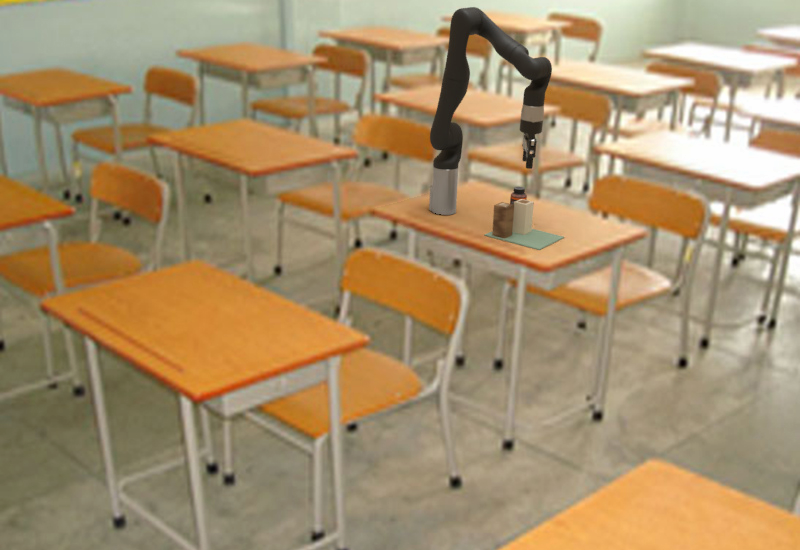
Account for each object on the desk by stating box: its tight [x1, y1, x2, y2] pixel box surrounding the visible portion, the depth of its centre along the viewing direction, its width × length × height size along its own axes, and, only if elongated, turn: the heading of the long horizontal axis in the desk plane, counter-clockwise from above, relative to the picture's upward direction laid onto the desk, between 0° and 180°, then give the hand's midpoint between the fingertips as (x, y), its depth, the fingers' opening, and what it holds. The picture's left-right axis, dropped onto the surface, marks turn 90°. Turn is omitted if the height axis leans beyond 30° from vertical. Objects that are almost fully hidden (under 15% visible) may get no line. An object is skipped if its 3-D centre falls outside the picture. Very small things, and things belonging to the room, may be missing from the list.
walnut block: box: [491, 201, 514, 239], centre depth 339 cm, size 5×5×11 cm
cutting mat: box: [484, 228, 565, 251], centre depth 341 cm, size 22×17×1 cm
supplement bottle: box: [509, 186, 528, 205], centre depth 360 cm, size 6×6×11 cm
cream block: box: [512, 199, 535, 235], centre depth 343 cm, size 5×5×11 cm
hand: (527, 164), depth 334 cm, fingers open, 8 cm apart
